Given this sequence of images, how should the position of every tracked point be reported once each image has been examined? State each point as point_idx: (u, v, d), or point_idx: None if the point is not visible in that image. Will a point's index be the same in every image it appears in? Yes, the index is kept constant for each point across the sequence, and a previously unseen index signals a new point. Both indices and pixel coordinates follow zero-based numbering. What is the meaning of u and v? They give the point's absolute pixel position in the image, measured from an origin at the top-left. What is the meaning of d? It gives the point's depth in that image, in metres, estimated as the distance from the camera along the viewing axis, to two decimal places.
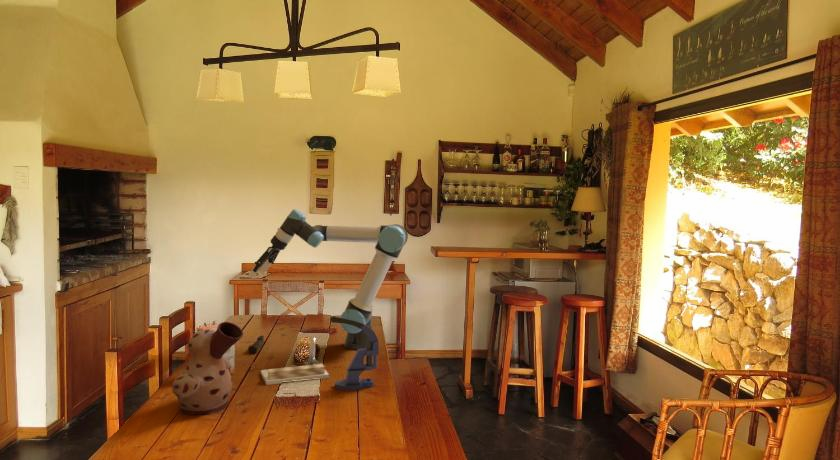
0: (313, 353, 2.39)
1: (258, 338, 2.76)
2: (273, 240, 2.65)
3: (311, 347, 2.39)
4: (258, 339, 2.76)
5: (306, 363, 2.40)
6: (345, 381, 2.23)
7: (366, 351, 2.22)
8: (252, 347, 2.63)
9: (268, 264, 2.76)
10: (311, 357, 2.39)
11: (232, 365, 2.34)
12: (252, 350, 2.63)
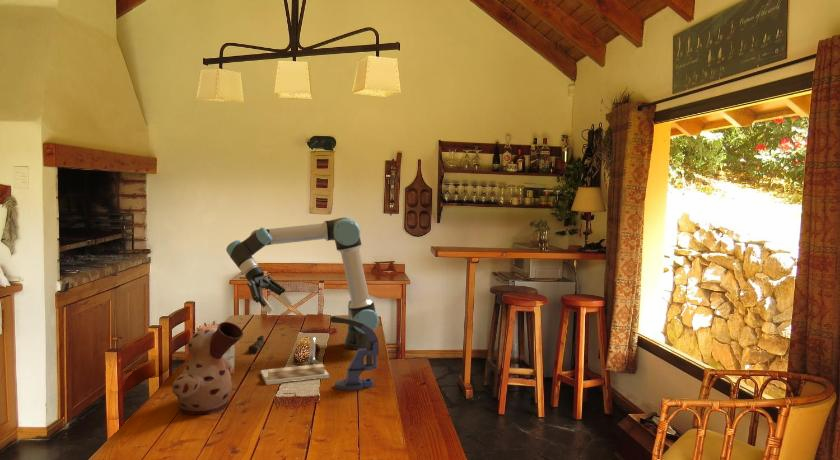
0: (313, 353, 2.39)
1: (258, 338, 2.76)
2: (247, 278, 2.47)
3: (311, 347, 2.39)
4: (258, 339, 2.76)
5: (306, 363, 2.40)
6: (345, 381, 2.23)
7: (366, 351, 2.22)
8: (252, 347, 2.63)
9: (282, 295, 2.52)
10: (311, 357, 2.39)
11: (232, 365, 2.34)
12: (252, 350, 2.63)
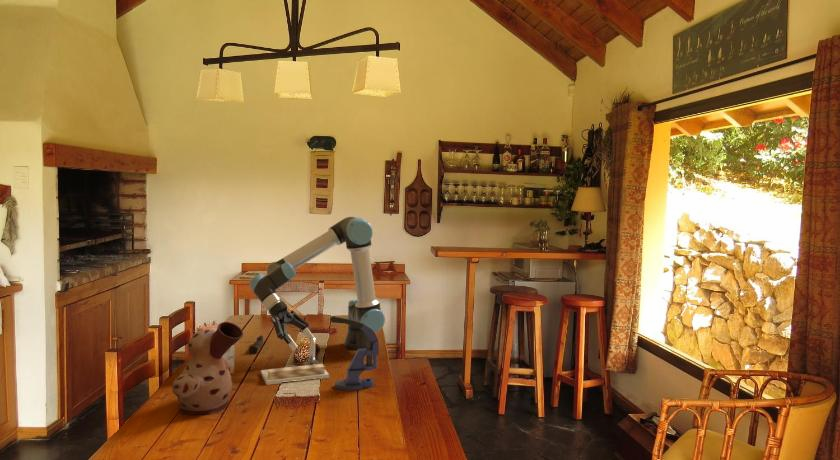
0: (313, 353, 2.39)
1: (258, 338, 2.76)
2: (271, 314, 2.42)
3: (311, 347, 2.39)
4: (258, 339, 2.76)
5: (306, 363, 2.40)
6: (345, 381, 2.23)
7: (366, 351, 2.22)
8: (253, 347, 2.63)
9: (305, 330, 2.47)
10: (311, 357, 2.39)
11: (232, 365, 2.34)
12: (253, 350, 2.63)
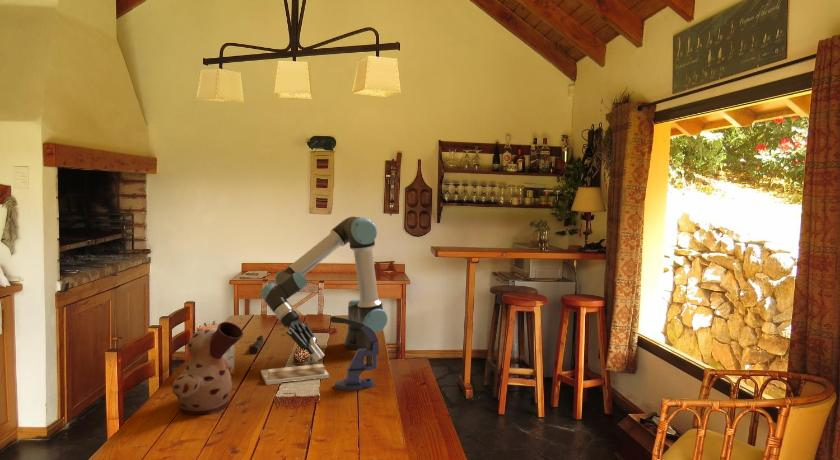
0: None
1: (258, 338, 2.76)
2: (282, 323, 2.41)
3: None
4: (258, 339, 2.76)
5: (306, 363, 2.40)
6: (345, 381, 2.23)
7: (366, 351, 2.22)
8: (253, 347, 2.63)
9: None
10: (311, 357, 2.39)
11: (232, 365, 2.34)
12: (253, 350, 2.63)
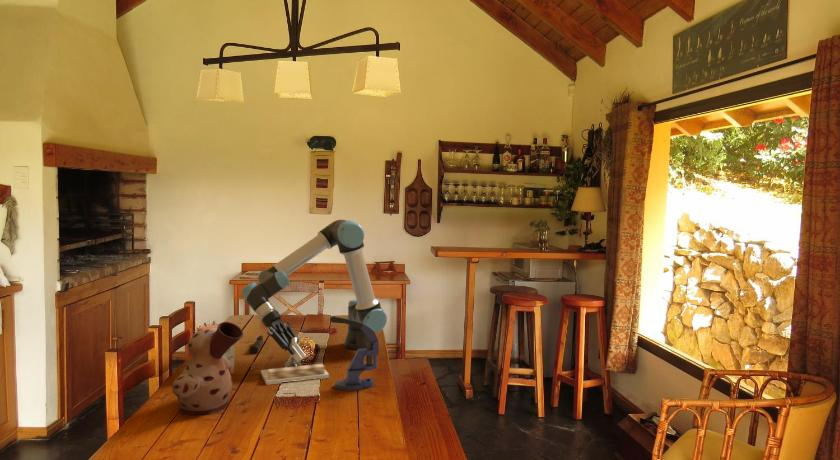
0: None
1: (258, 338, 2.76)
2: (264, 323, 2.38)
3: None
4: (258, 339, 2.76)
5: (287, 363, 2.37)
6: (345, 381, 2.23)
7: (366, 351, 2.22)
8: (253, 347, 2.63)
9: None
10: (292, 357, 2.36)
11: (232, 365, 2.34)
12: (253, 350, 2.63)
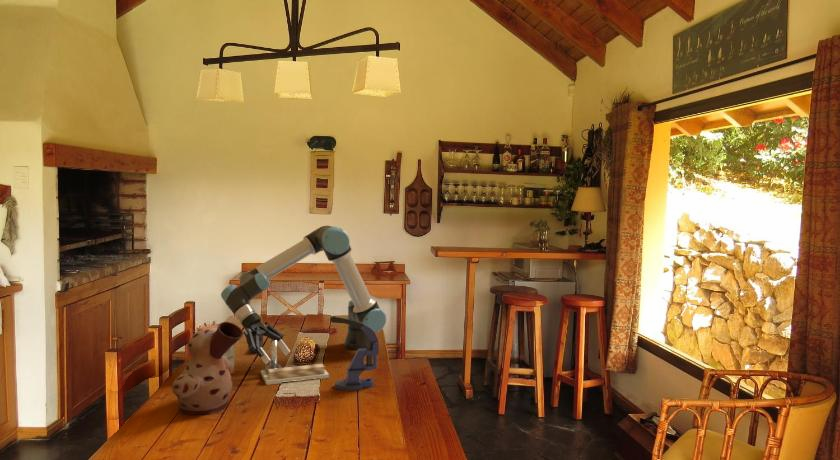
0: (275, 357, 2.33)
1: None
2: (243, 325, 2.35)
3: (272, 350, 2.32)
4: None
5: (267, 367, 2.33)
6: (345, 381, 2.23)
7: (366, 351, 2.22)
8: None
9: (280, 342, 2.40)
10: (272, 361, 2.33)
11: (232, 365, 2.34)
12: None
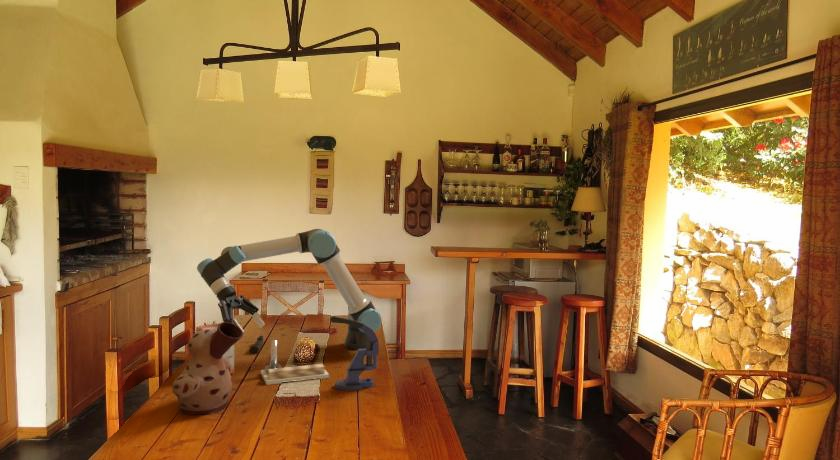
0: (275, 357, 2.33)
1: (258, 338, 2.76)
2: (218, 298, 2.39)
3: (272, 350, 2.32)
4: (258, 339, 2.76)
5: (267, 367, 2.33)
6: (345, 381, 2.23)
7: (366, 351, 2.22)
8: (254, 347, 2.63)
9: (255, 315, 2.44)
10: (272, 361, 2.33)
11: (232, 365, 2.34)
12: (254, 350, 2.63)
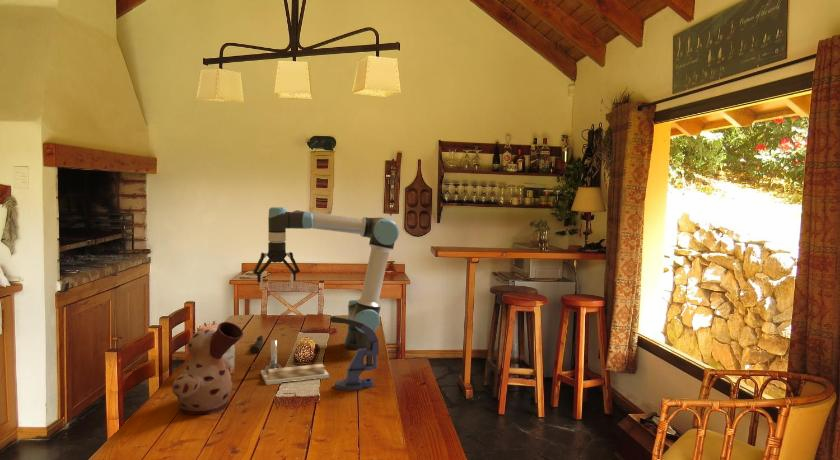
0: (275, 357, 2.33)
1: (258, 338, 2.76)
2: None
3: (272, 350, 2.32)
4: (258, 339, 2.76)
5: (267, 367, 2.33)
6: (345, 381, 2.23)
7: (366, 351, 2.22)
8: (254, 347, 2.63)
9: (291, 276, 2.57)
10: (272, 361, 2.33)
11: (232, 365, 2.34)
12: (255, 350, 2.63)
